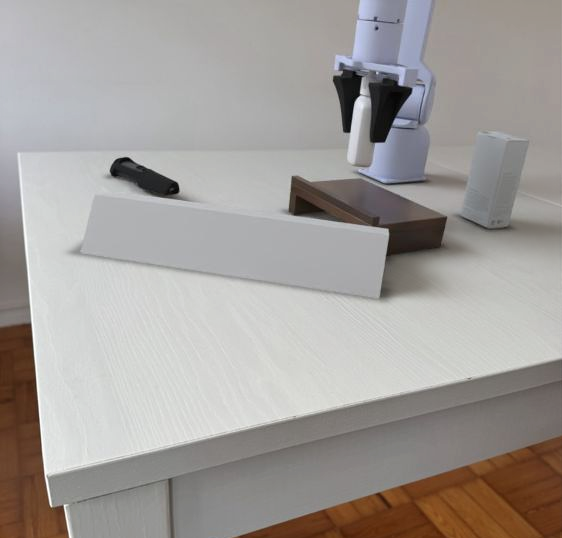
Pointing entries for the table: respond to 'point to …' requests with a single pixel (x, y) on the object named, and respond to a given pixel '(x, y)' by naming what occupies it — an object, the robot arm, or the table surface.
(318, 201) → the shelf
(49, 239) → the table surface
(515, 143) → the cosmetic box
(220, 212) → the molding piece
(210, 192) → the table surface
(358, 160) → the eye dropper bottle
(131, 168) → the electric trimmer
